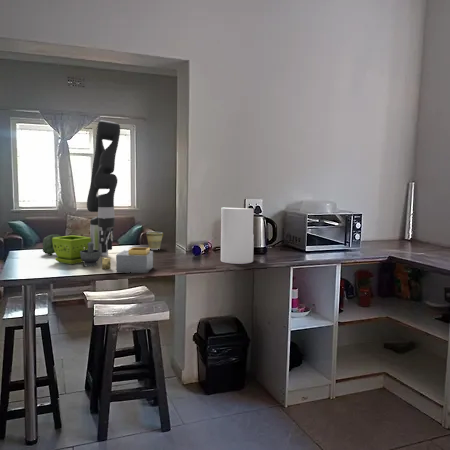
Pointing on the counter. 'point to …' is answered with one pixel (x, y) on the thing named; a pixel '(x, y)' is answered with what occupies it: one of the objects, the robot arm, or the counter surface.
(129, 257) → the grey box
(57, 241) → the flower pot
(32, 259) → the counter surface
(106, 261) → the pellet
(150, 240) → the ceramic cup
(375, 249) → the counter surface
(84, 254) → the mortar and pestle
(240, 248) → the cylinder
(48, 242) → the vegetable
